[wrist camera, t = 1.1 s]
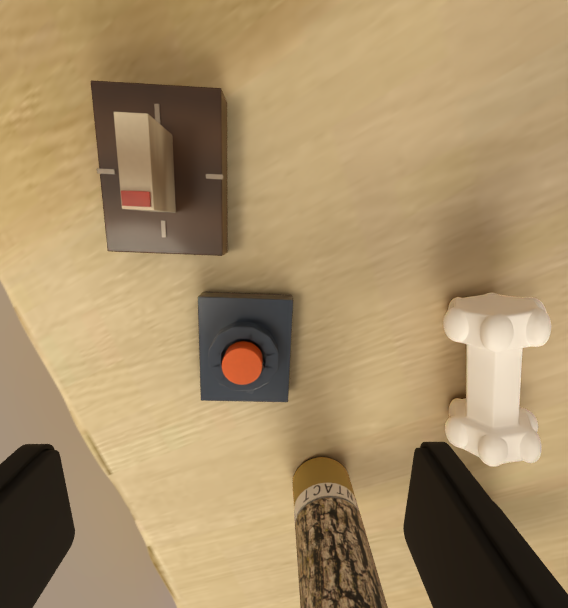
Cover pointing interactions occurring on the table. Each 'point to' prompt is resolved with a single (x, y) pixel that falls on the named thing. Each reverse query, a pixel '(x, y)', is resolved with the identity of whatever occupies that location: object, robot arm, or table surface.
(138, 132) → the beige block
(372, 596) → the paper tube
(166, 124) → the panel
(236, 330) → the button box
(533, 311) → the dog bone
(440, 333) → the table surface
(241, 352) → the button
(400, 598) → the table surface
